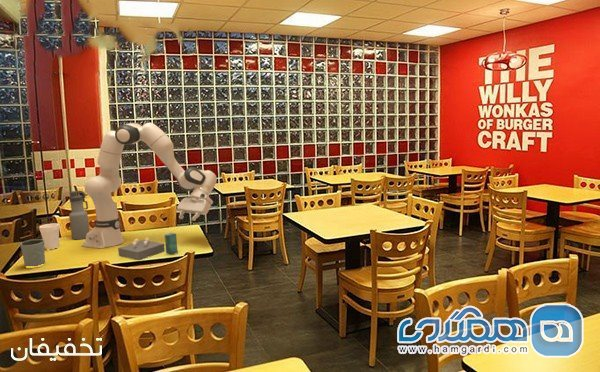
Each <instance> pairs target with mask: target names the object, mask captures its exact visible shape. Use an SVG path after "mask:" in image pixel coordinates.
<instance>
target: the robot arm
mask: <svg viewBox="0 0 600 372" xmlns="http://www.w3.org/2000/svg"><path fill="white" fill-rule="evenodd" d="M140 142H143V143H145V144H146V146H148V147H149V149H150V150H151V151H152V152H153V153H154V154H155V155H156V156H157V157H158V158H159V159H160V161H161V162H162V163H163V165H164V166H165V168H167V170H168V171H169V172H170V174H171V175H172V176H173V177H174V178H175V181H176V182H177V185H178V187H179V188H180V189H181V190H182V191H185V192H191V191H192V192H191V194H190V196H189V195H188V196H186V197H184V198H183V199H181V201H180V202H179V204H178V205H177V206H176V209H177V210H178V211H179V216H178V218H179V220H183V219H184V217H185V216H184V215H185V213H187V214H193V216H192V217H191V218H190V219H191V221H192V222H195V221H196V219H198V218H199V217H200V216H202V215H203V216H206V215H207V214H208V213H209V211H210V209H211V207H212V205H213V203H214V201H213V200H212V199H211V197H210V194H211V192H212V191H213V190H214V188H215V186H216V183H217V180H218V178H217V175H216V173H214V172H213V171H212V170H209V169H207V170H203V169H200V168H197V167H194V166H191V167H187V168H186V169H185V170H184V168H183V167H182V166H181V165H180V163H179V162H178V161H177V160H176V158H175V154H174V153H175V152H174V149H175V148H174V143H173V141H172V140H171V138H170V137H169V135H167V133H165V132H164V131H163V129H161V128H160V127H159V126H157V125H156V124H155V123H153V122H146V123H144V124H143V125H142V124H141V123H139V122H130V123H129V122H128V123H125V124H122V125H120V126H118V127H117V128H116V129H115V130H108V131H107V132H105V134H104V136H103V138H102V142H101V144H100V147H99V148H100V149H99V153H98V158H97V164H98V166H99V174H98V175H96V176H92V177H90V178H89V179H88V180H87V181H86V182H85V184H84V191H85V194H86V195H88V196H89V197H90V199H91V200H92V202H93V205H94V209H95V216H96V220H94V221H93V222H92V225H94V227H93V228H91V229H89V232H88V233H87V234H86V238H85V241H84V242H82V243H81V247H86V248H94V249H103V248H104V249H105V248H109V247H115V246H118V245H121V244H123V243H125V240H124V237H123V235H122V232H121V227H120V226H121V223H120V222H121V221H120V217H119V212H118V205H117V203H116V202H115V200H114V199H113V197H112V194H111V193H113V192H116V191H117V190H118V189H119V188H120V187H121V185H122V179H121V177H120V164H121V159H122V155H123V150H124V146H130V145H134V144H137V143H140Z"/></svg>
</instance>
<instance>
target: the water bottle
mask: <svg viewBox="0 0 600 372" xmlns="http://www.w3.org/2000/svg"><path fill="white" fill-rule="evenodd" d="M69 195H70V196H69V203H70V208H71V212H70V213H69V214H68V219H69V224H70V225H69V227H70V232H71V233H70V234H71V239H72V240H74V239H75V240H76V241H77V240H78V241H79V240H86V234H87V233H88V232H89V231H90V223H89V215H88V212H87V211H86V210H88V209H89V204H88V201H86V200H85V199H86V198H87V197H86V196H87V195H86V192H84V191H83V190H82V191H81V190H73V191H70V192H69ZM84 203H85V206H86V207H85V208H84ZM75 240H74V241H75Z"/></svg>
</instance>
